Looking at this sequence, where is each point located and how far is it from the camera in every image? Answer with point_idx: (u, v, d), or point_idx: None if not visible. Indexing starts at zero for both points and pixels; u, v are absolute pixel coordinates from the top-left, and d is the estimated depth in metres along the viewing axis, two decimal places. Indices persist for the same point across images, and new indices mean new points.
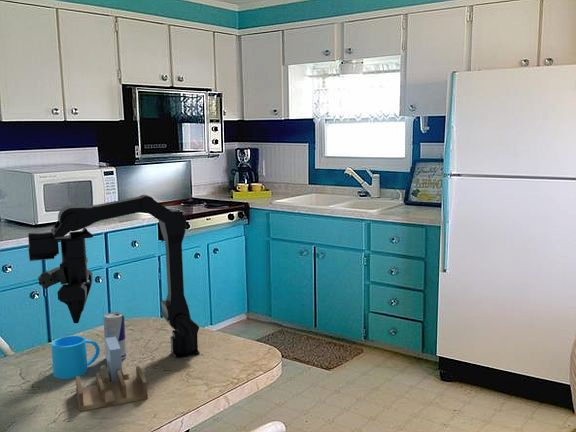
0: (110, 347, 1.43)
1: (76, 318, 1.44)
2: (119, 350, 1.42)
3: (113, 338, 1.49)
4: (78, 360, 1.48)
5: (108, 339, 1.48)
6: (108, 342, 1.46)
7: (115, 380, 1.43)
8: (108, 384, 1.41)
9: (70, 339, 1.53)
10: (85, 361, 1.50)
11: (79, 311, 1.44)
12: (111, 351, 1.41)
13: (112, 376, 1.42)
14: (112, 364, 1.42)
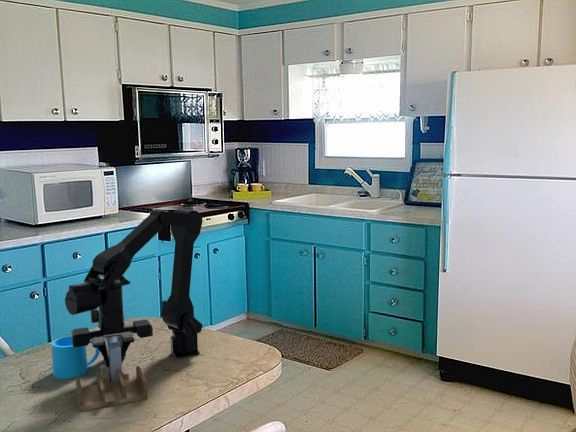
0: (110, 347, 1.43)
1: (105, 362, 1.45)
2: (119, 350, 1.42)
3: (113, 338, 1.49)
4: (78, 360, 1.48)
5: (108, 339, 1.48)
6: (108, 342, 1.46)
7: (115, 380, 1.43)
8: (108, 384, 1.41)
9: (70, 339, 1.53)
10: (85, 361, 1.50)
11: (103, 356, 1.44)
12: (111, 351, 1.41)
13: (112, 376, 1.42)
14: (112, 364, 1.42)
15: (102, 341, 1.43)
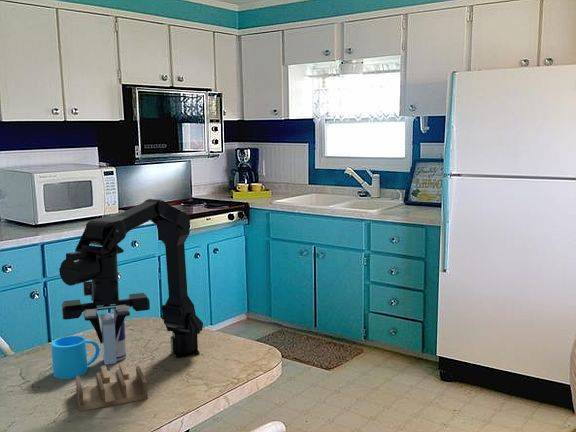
0: (103, 322, 1.32)
1: (98, 337, 1.35)
2: (113, 326, 1.31)
3: (107, 314, 1.38)
4: (78, 360, 1.48)
5: (102, 315, 1.38)
6: (102, 318, 1.36)
7: (108, 358, 1.32)
8: (108, 384, 1.41)
9: (70, 339, 1.53)
10: (85, 361, 1.50)
11: None
12: (104, 326, 1.31)
13: (105, 354, 1.32)
14: (105, 341, 1.31)
15: (95, 314, 1.32)
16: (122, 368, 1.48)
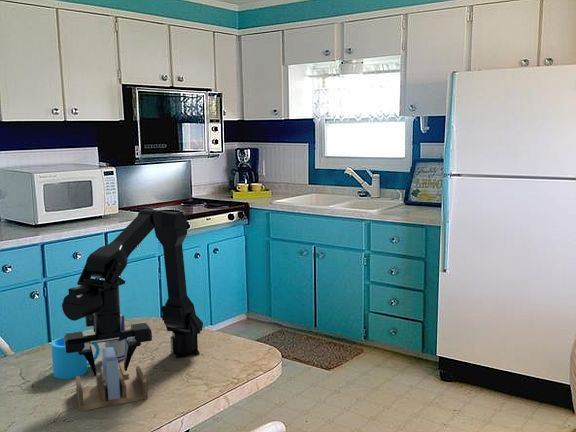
0: (106, 358, 1.33)
1: (92, 370, 1.34)
2: (116, 362, 1.32)
3: (110, 348, 1.39)
4: (78, 360, 1.48)
5: (104, 349, 1.38)
6: (104, 353, 1.36)
7: (112, 394, 1.33)
8: None
9: None
10: (85, 361, 1.50)
11: None
12: (108, 363, 1.31)
13: (109, 390, 1.32)
14: (109, 377, 1.32)
15: (88, 348, 1.32)
16: (122, 368, 1.48)
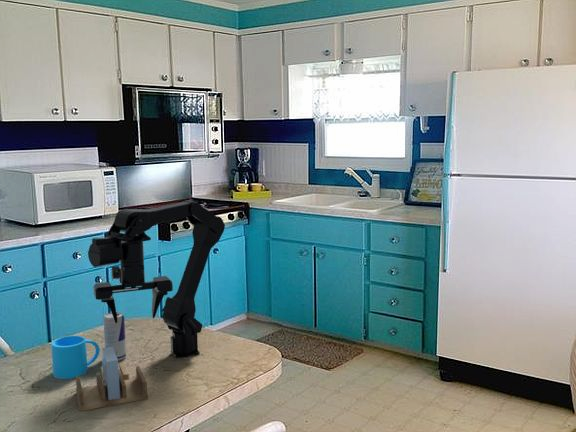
0: (106, 358, 1.33)
1: None
2: (116, 362, 1.32)
3: (110, 348, 1.39)
4: (78, 360, 1.48)
5: (104, 349, 1.38)
6: (104, 353, 1.36)
7: (112, 394, 1.33)
8: None
9: (70, 339, 1.53)
10: (85, 361, 1.50)
11: (111, 312, 1.46)
12: (108, 363, 1.31)
13: (109, 390, 1.32)
14: (109, 377, 1.32)
15: (110, 296, 1.45)
16: (122, 368, 1.48)
